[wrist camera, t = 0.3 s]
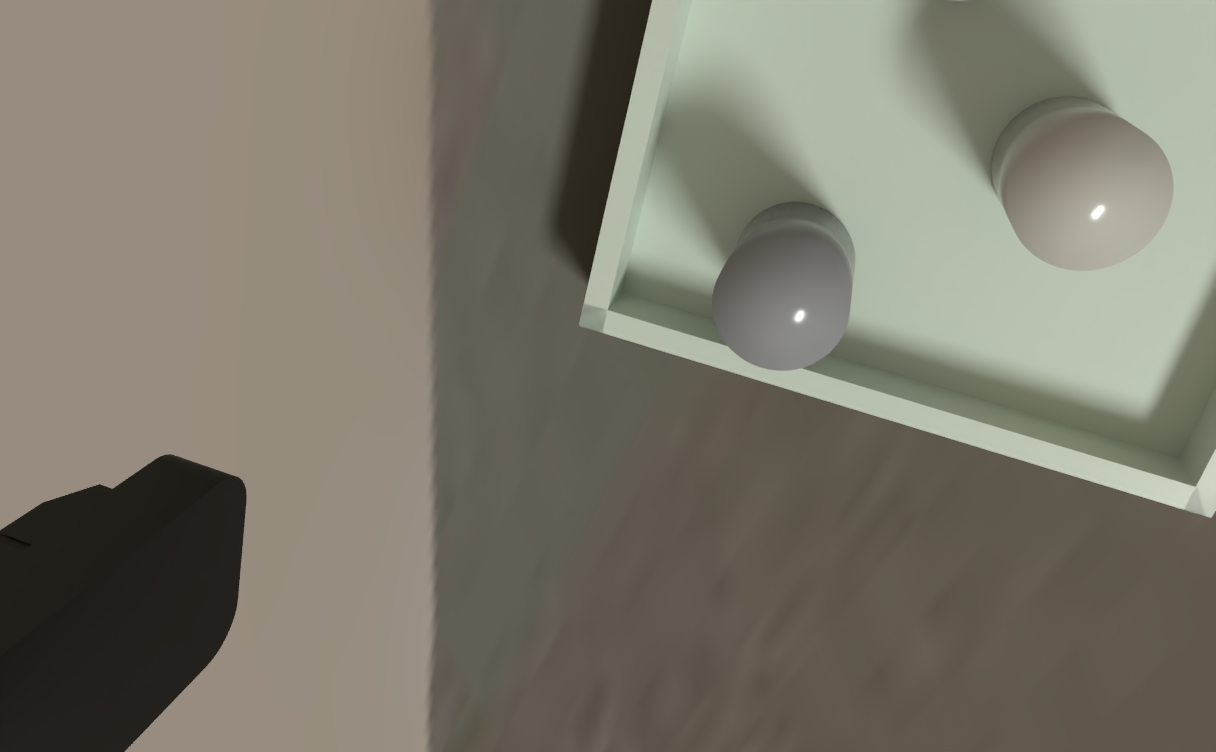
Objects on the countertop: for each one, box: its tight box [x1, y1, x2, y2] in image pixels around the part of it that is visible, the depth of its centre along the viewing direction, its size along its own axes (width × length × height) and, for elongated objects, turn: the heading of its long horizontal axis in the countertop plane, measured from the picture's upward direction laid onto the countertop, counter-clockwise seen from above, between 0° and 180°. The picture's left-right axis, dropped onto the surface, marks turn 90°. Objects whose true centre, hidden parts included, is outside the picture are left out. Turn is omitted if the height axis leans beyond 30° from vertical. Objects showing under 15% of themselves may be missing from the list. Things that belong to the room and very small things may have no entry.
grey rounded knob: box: [712, 202, 855, 371], centre depth 31 cm, size 4×4×5 cm
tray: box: [579, 0, 1216, 518], centre depth 30 cm, size 18×20×3 cm
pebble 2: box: [991, 96, 1174, 271], centre depth 28 cm, size 4×4×5 cm
